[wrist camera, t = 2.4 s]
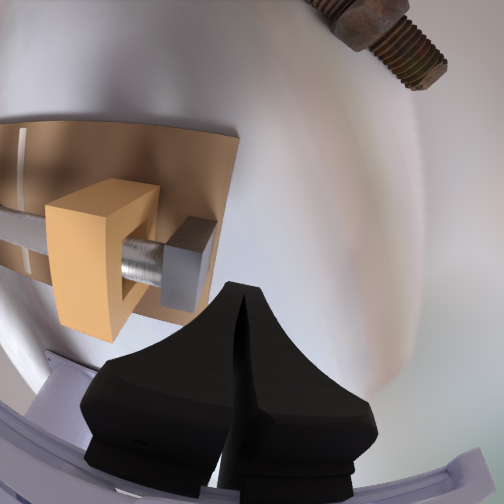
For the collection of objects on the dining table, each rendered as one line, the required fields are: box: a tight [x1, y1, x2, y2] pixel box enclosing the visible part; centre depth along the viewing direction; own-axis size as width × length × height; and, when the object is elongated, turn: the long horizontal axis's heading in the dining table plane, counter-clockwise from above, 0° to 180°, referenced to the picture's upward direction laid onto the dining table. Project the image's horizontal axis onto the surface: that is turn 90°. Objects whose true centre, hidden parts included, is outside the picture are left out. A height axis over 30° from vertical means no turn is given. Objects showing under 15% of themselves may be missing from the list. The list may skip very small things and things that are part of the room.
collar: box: [45, 178, 160, 344], centre depth 12 cm, size 3×6×6 cm, turn 168°
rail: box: [0, 204, 218, 314], centre depth 13 cm, size 22×3×5 cm, turn 78°
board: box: [0, 121, 240, 326], centre depth 15 cm, size 22×12×1 cm, turn 78°
